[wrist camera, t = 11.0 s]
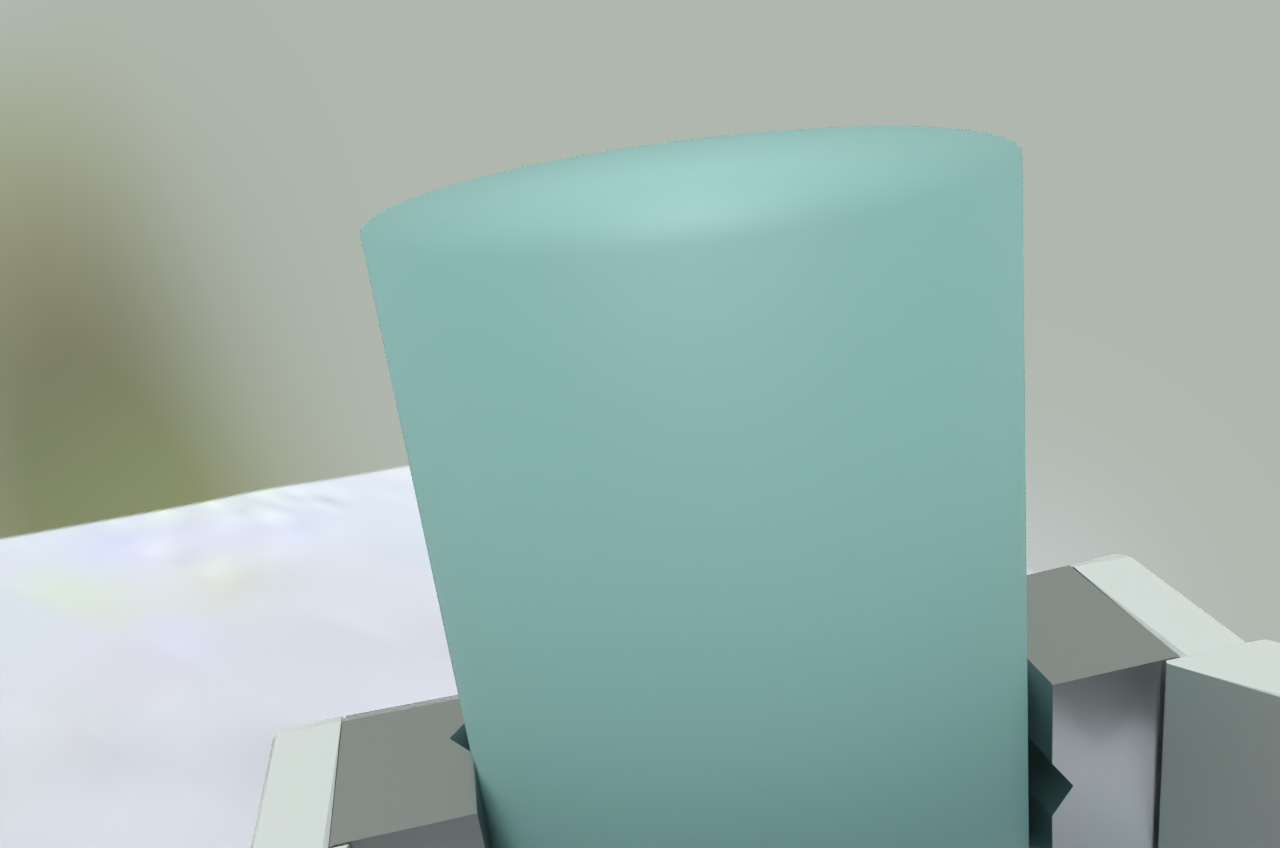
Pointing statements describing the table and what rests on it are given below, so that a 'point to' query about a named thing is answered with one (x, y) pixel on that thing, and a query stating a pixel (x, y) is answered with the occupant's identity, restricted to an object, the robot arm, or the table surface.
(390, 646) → the table surface
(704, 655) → the pin
